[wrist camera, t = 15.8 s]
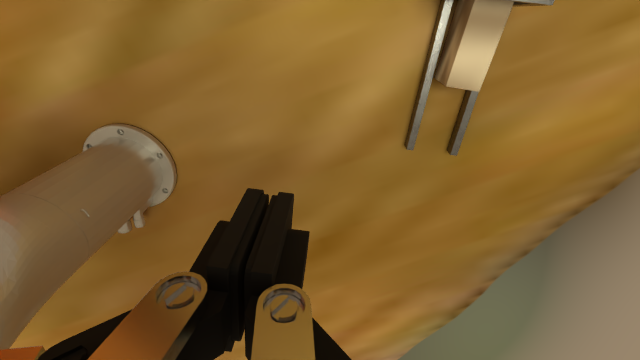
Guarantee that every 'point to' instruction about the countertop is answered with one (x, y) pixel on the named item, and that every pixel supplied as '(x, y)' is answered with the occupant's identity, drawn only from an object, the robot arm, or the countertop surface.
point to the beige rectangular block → (472, 42)
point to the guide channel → (426, 83)
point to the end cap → (531, 2)
